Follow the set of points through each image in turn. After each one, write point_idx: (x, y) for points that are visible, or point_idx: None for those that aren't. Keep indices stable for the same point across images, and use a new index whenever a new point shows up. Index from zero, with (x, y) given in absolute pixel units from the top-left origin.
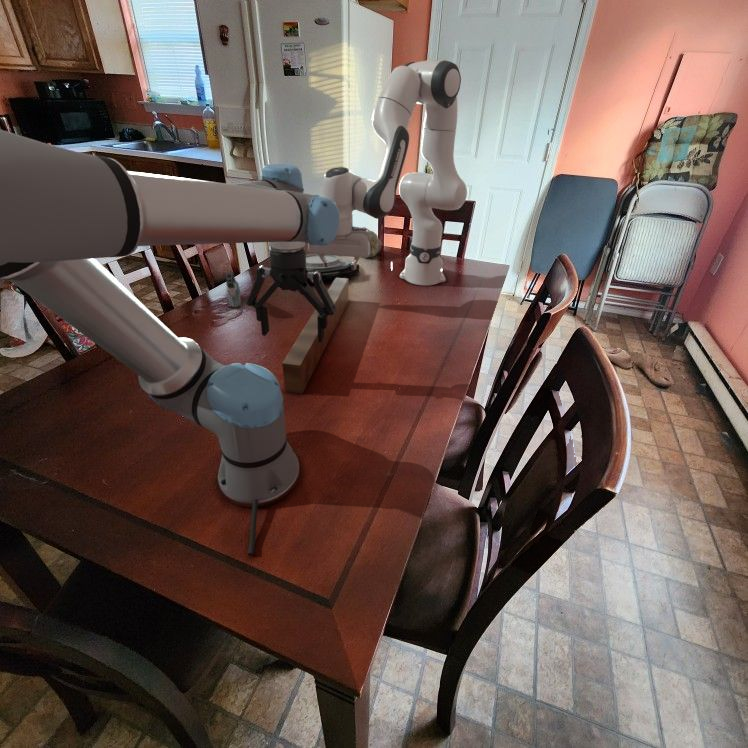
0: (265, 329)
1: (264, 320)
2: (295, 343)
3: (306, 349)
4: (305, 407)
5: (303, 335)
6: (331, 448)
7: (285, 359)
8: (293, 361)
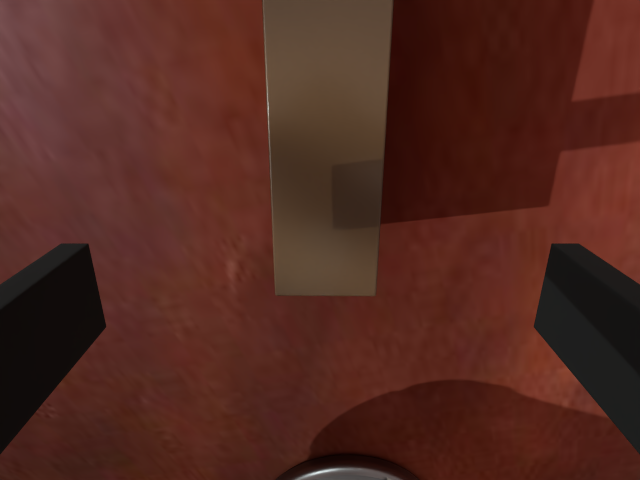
0: (77, 342)
1: (19, 407)
2: (271, 64)
3: (369, 128)
4: (391, 293)
5: None
6: (501, 429)
7: (278, 260)
8: (329, 270)
